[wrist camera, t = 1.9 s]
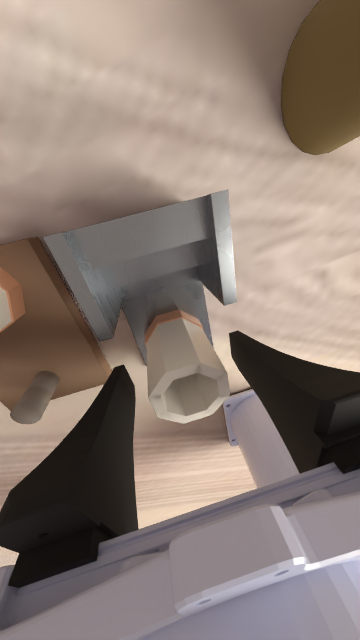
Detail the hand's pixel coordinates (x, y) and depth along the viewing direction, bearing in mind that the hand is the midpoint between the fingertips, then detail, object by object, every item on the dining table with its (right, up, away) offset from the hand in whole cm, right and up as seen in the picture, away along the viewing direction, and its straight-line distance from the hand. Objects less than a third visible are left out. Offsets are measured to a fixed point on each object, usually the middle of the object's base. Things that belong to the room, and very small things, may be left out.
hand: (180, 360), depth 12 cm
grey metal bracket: (-1, +4, +2) cm, 5 cm away
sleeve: (-1, +1, +3) cm, 3 cm away
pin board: (-11, +2, +1) cm, 11 cm away
